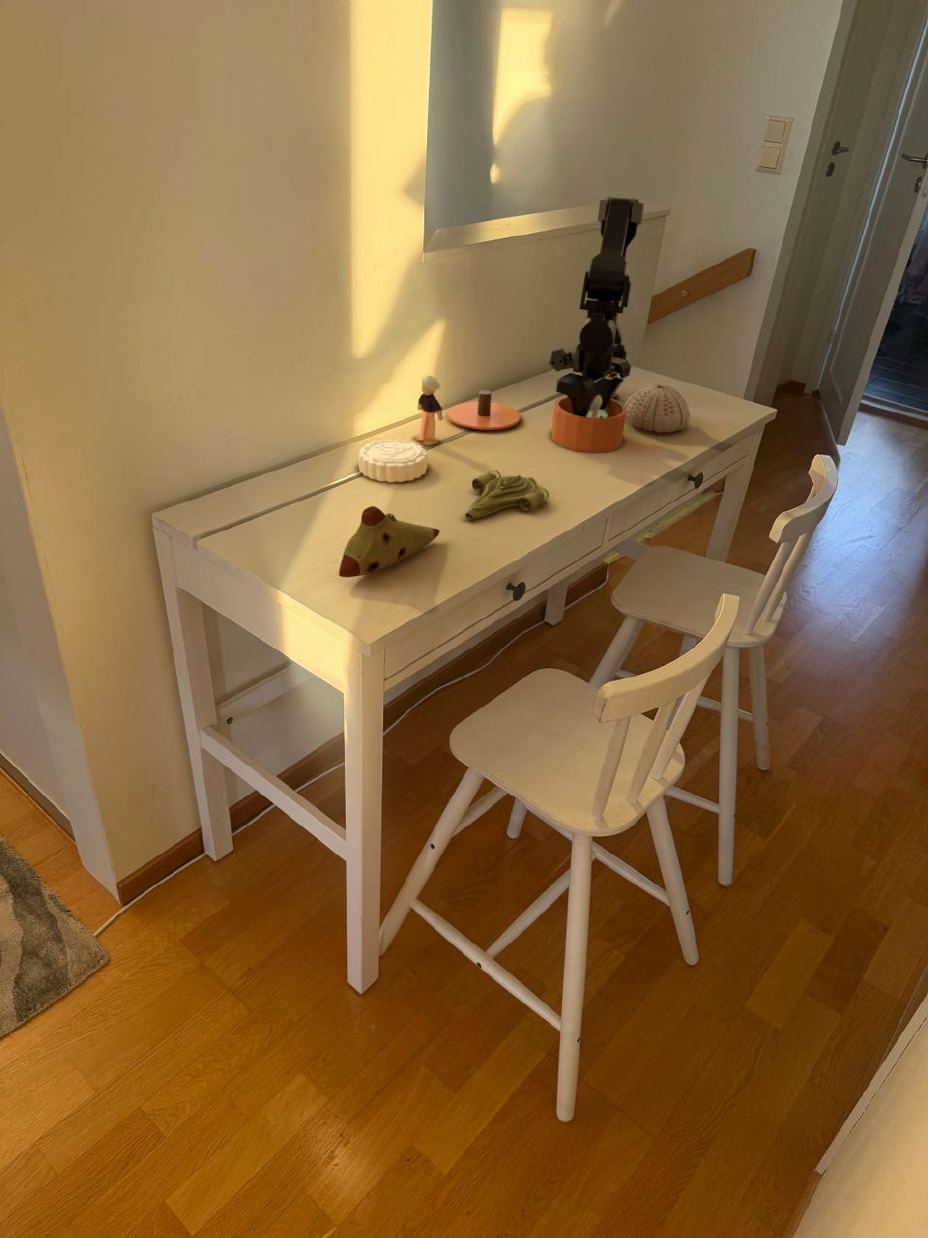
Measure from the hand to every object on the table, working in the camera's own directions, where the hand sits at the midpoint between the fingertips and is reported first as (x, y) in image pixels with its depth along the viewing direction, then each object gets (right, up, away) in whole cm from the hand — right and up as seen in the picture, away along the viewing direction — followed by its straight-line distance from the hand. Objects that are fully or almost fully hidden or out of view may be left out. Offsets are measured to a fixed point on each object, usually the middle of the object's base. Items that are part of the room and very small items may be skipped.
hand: (588, 420), depth 171 cm
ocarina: (-35, -30, -42) cm, 62 cm away
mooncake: (-37, -12, -14) cm, 41 cm away
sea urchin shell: (+15, +1, +10) cm, 18 cm away
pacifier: (0, -1, +1) cm, 1 cm away
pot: (0, -3, +2) cm, 4 cm away
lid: (-20, +3, +8) cm, 22 cm away
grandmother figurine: (-31, -5, -3) cm, 31 cm away
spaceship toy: (-18, -19, -24) cm, 35 cm away
